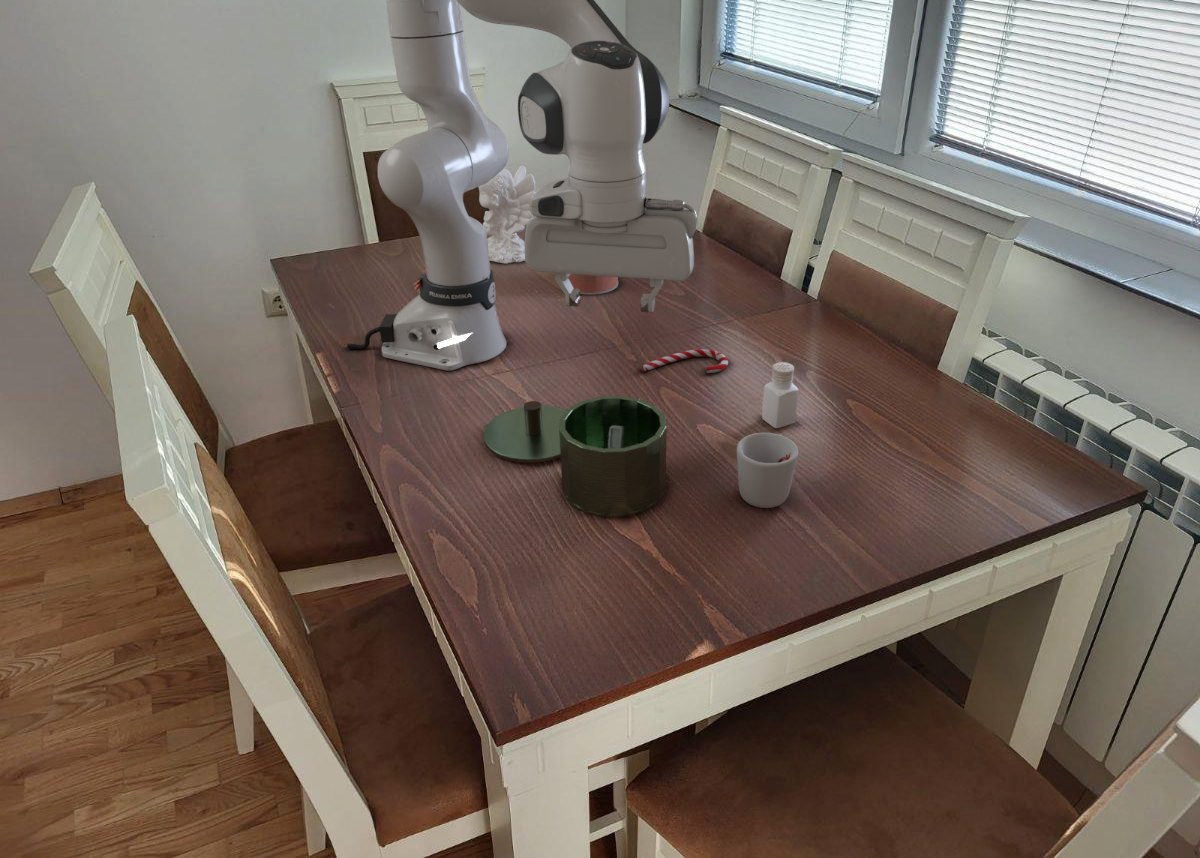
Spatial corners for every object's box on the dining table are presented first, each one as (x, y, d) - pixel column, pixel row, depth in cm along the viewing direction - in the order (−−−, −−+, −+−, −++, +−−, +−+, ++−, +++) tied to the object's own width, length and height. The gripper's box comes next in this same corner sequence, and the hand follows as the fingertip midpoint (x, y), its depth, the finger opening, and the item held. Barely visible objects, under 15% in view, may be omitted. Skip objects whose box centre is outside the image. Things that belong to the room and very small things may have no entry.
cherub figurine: (478, 246, 206) (469, 160, 196) (530, 241, 209) (524, 155, 198) (485, 266, 196) (476, 176, 185) (541, 260, 198) (535, 170, 187)
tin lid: (480, 468, 128) (476, 434, 125) (488, 413, 141) (484, 382, 138) (586, 463, 129) (585, 430, 126) (584, 410, 142) (583, 378, 139)
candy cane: (636, 356, 154) (717, 344, 157) (636, 363, 155) (717, 351, 158) (649, 376, 148) (734, 364, 151) (649, 383, 148) (733, 371, 151)
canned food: (628, 280, 187) (628, 224, 181) (599, 298, 179) (598, 241, 173) (583, 270, 192) (581, 216, 186) (554, 288, 184) (550, 232, 178)
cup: (724, 471, 126) (726, 423, 122) (779, 467, 127) (783, 419, 122) (740, 517, 117) (744, 466, 113) (800, 512, 117) (805, 462, 113)
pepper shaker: (775, 430, 135) (780, 375, 130) (759, 418, 138) (764, 364, 133) (796, 423, 136) (802, 369, 131) (780, 412, 139) (785, 358, 134)
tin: (562, 519, 117) (558, 453, 112) (563, 459, 130) (560, 397, 124) (669, 515, 118) (670, 449, 112) (660, 456, 130) (661, 394, 124)
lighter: (612, 500, 120) (611, 450, 116) (600, 498, 120) (598, 448, 116) (624, 471, 126) (624, 422, 122) (612, 469, 126) (611, 421, 122)
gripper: (701, 192, 102) (697, 303, 110) (532, 184, 107) (539, 291, 114) (693, 209, 97) (689, 324, 104) (515, 200, 102) (524, 311, 109)
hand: (610, 307), depth 109 cm, fingers open, 8 cm apart
